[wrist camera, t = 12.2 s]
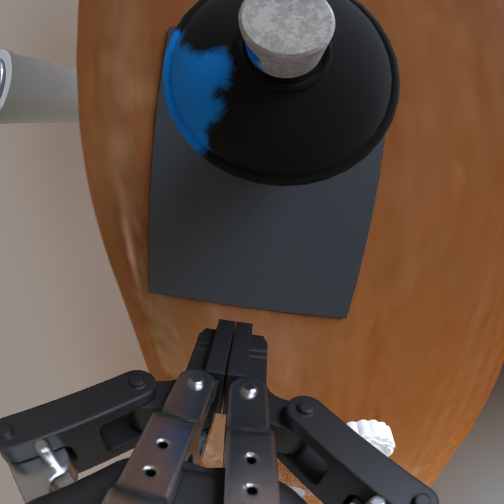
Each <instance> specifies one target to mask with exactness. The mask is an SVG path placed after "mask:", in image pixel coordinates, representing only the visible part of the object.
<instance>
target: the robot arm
mask: <svg viewBox="0 0 504 504" xmlns="http://www.w3.org/2000/svg"><path fill="white" fill-rule="evenodd" d="M5 79H6V67H5V63H4V61H3V60H2V59H1V58H0V98H1V96H2V93H3V89H4V85H5ZM252 326H253V324H250V323H243V322H237V323H236V328H235V321H228V320H221V319H219V322H218V326H217V329H216V330H214V329H208V328H206V329H205V330H204V331H202V332H201V333H200V334H199V336H198V339H197V343H196V345H195V348H194V350H193V353H192V356H191V358H190V361H189V364H188V367H187V370H186V371H184V372H182V373H181V374H180V375H179V376H178V378H177V379H175V380H172V381H155V379H154V377H153V376H152V375H151V374H150V373H148V372H145V371H141V370H133V371H129V372H126V373H124V374H122V375H119V376H117V377H114V378H112V379H109V380H107V381H104V382H102V383H99V384H96V385H94V386H91V387H89V388H86V389H84V390H81V391H79V392H76V393H73V394H70V395H68V396H65V397H62V398H59V399H57V400H54V401H51V402H48V403H45V404H43V405H40V406H37V407H34V408H31V409H28V410H25V411H22V412H19V413H16V414H13V415H10V416H7V417H3V418H1V419H0V453H1V455H2V457H3V458H4V459H5V461H6V462H7V463H8V464H9V467H10V469H11V472H12V474H13V477H14V479H15V482H16V484H17V486H18V489H19V491H20V493H21V495H22V497H23V500H24V501H25V504H307V503H306V502H305V501H304V500H303V499H302V498H301V497H300V496H299V495H298V494H297V493H296V492H295V491H294V490H293V489H292V488H290V487H289V486H287V485H286V484H284V483H282V482H280V481H279V478H278V466H277V458H278V459H279V460H280V461H281V462H282V463H283V464H284V465H285V466H286V467H287V468H288V469H289V470H290V471H291V472H292V473H293V474H294V475H295V476H296V477H297V478H298V479H299V480H300V481H301V482H302V483H303V484H304V485H305V486H306V487H307V488H308V489H309V490H310V491H311V492H312V493H313V494H314V495H315V496H316V497H317V498H318V499H319V500H321V501H322V502H323V503H324V504H439V500H438V497H437V494H436V493H435V492H434V491H433V490H432V489H431V488H429V487H428V486H427V485H425V484H424V483H422V482H421V481H419V480H418V479H417V478H415V477H414V476H413V475H411V474H410V473H408V472H407V471H406V470H404V469H403V468H402V467H400V466H399V465H398V464H396V463H395V462H394V461H392V460H391V459H390V458H388V457H387V456H386V455H384V454H383V453H382V452H381V451H379V450H378V449H377V448H375V447H374V446H373V445H372V444H370V443H369V442H368V441H367V440H365V439H364V438H363V437H362V436H360V435H359V434H358V433H357V432H355V431H354V430H353V429H352V428H350V427H349V426H348V425H347V424H345V423H344V422H343V421H342V420H341V419H339V418H338V417H337V416H336V415H335V414H333V413H332V412H331V411H330V410H329V409H328V408H326V407H325V406H324V405H323V404H322V403H320V402H319V401H318V400H316V399H315V398H312V397H309V396H298V397H295V398H293V399H291V400H290V401H287V400H284V399H281V398H279V397H277V396H275V395H274V394H272V393H271V392H270V391H269V389H268V388H267V385H266V371H267V342H266V340H265V339H264V337H263V336H257V335H252ZM234 332H235V333H234ZM223 400H224V405H223ZM222 406H223V414H227V416H226V425H225V436H224V453H223V468H204V467H201V466H200V464H201V461H202V457H203V454H204V451H205V448H206V445H207V442H208V438H209V435H210V432H211V429H212V424H213V422H214V418H215V413H219V414H221V411H222ZM133 448H134V450H133V452H132V454H131V456H130V458H126V459H122V460H119V461H117V462H115V463H113V464H111V465H109V466H107V467H105V468H103V469H101V470H99V471H97V472H95V473H93V474H91V475H89V476H87V477H84V478H82V479H80V480H78V481H77V479H78V473H80V472H83V471H85V470H88V469H90V468H92V467H94V466H97V465H99V464H101V463H103V462H106V461H107V460H109V459H112V458H114V457H116V456H118V455H120V454H122V453H125V452H127V451H129V450H131V449H133Z"/></svg>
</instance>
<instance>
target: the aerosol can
mask: <svg viewBox="0 0 504 504" xmlns="http://www.w3.org/2000/svg"><path fill="white" fill-rule="evenodd" d="M162 77H163V92H164V96H165V100H166V103H167V107H168V110H169V113H170V115H171V117H172V119H173V121H174V123H175V125H176V127H177V128H178V130H179V132H180V134H181V135H182V136H183V137H184V139H185V140H186V141H187V142H188V143H189V144H190V146H191V147H192V148H193V149H194V150H195V151H196V152H197V153H198V154H200V155H201V156H202V157H203V158H205V159H206V160H207V161H208V162H209V163H211V164H212V165H214V166H215V167H217V168H219V169H221V170H223V171H225V172H227V173H229V174H231V175H232V176H235V177H238V178H241V179H244V180H248V181H251V182H254V183H258V184H266V185H274V186H297V185H307V184H311V183H315V182H319V181H323V180H328V179H330V178H332V177H334V176H336V175H338V174H341V173H343V172H345V171H347V170H349V169H350V168H352V167H353V166H355V165H356V164H357V163H359V162H360V161H361V160H363V159H364V158H366V157H367V156H368V155H369V154H370V152H371V151H372V150H373V149H374V148H375V147H376V146H377V145H378V144H379V142H380V141H381V140H382V138H383V137H384V135H385V133H386V131H387V130H388V128H389V126H390V124H391V123H392V120H393V117H394V114H395V111H396V107H397V104H398V99H399V86H400V78H399V71H398V64H397V59H396V56H395V53H394V50H393V48H392V45H391V42H390V40H389V38H388V37H387V35H386V33H385V32H384V30H383V28H382V27H381V25H380V24H379V22H378V21H377V20H376V19H375V17H374V16H373V15H372V14H371V13H370V12H369V11H368V10H367V9H366V8H365V7H364V6H363V5H362V4H361V3H359V2H358V1H357V0H199V1H198V2H197V3H196V4H195V5H194V6H193V7H192V8H191V9H190V10H189V11H188V12H187V13H186V14H185V15H184V16H183V18H182V19H181V21H180V22H179V24H178V25H177V27H176V29H175V30H174V32H173V34H172V36H171V39H170V41H169V44H168V46H167V49H166V52H165V57H164V64H163V70H162Z"/></svg>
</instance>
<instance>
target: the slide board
mask: <svg viewBox="0 0 504 504" xmlns="http://www.w3.org/2000/svg"><path fill="white" fill-rule="evenodd" d="M176 27H177V26H175V27H169V32H168V38H167V43H166V49H167V46H168V44H169V41H170V39H171V36H172V34H173V32H174V30H175V29H176ZM166 49H165V52H166ZM164 57H165V55H164ZM163 64H164V61H163ZM162 70H163V67H162ZM384 140H385V135H384V137H383V138H382V140H381V141H380V142H379V144H378V145H377V146H376V147H375V148H374V149H373V150H372V151H371V152H370V154H369V155H368V156H367V157H366V158H364V159H363V160H361V161H360V162H359V163H357V164H356V165H355V166H353V167H352V168H350V169H349V170H347V171H345V172H343V173H341V174H338V175H336V176H334V177H332V178H330V179H328V180H323V181H319V182H315V183H311V184H307V185H297V186H274V185H266V184H258V183H254V182H251V181H248V180H244V179H241V178H238V177H235V176H232V175H231V174H229V173H227V172H225V171H223V170H221V169H219V168H217V167H215V166H214V165H212V164H211V163H209V162H208V161H207V160H206V159H205V158H203V157H202V156H201V155H200V154H198V153H197V152H196V151H195V150H194V149H193V148H192V147H191V146H190V144H189V143H188V142H187V141H186V140H185V139H184V137H183V136H182V135H181V134H180V132H179V130H178V128H177V127H176V125H175V123H174V121H173V119H172V117H171V115H170V113H169V110H168V107H167V103H166V100H165V96H164V92H163V77H162V73H161V80H160V87H159V95H158V103H157V112H156V121H155V131H154V142H153V154H152V168H151V186H150V211H149V283H150V292H154V293H159V294H165V295H171V296H177V297H183V298H189V299H195V300H201V301H208V302H214V303H221V304H228V305H235V306H242V307H249V308H257V309H264V310H272V311H280V312H289V313H297V314H306V315H315V316H325V317H335V318H346V317H347V314H348V311H349V307H350V304H351V300H352V297H353V293H354V289H355V285H356V282H357V278H358V274H359V270H360V266H361V262H362V258H363V254H364V249H365V245H366V241H367V236H368V232H369V227H370V222H371V217H372V213H373V207H374V202H375V197H376V192H377V186H378V180H379V174H380V168H381V162H382V155H383V148H384Z"/></svg>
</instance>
